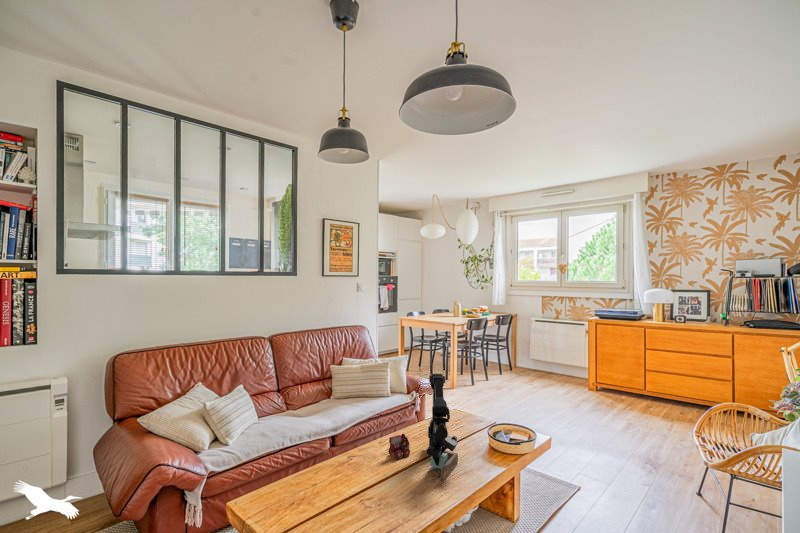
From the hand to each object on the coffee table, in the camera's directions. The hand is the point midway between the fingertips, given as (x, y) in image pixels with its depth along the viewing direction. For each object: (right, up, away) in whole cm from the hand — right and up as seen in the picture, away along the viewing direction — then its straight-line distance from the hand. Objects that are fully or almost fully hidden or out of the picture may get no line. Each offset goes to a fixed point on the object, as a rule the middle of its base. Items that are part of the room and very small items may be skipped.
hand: (438, 463), depth 184 cm
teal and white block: (0, -1, 0) cm, 1 cm away
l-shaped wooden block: (+1, -3, -1) cm, 3 cm away
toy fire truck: (-19, -3, +13) cm, 23 cm away
